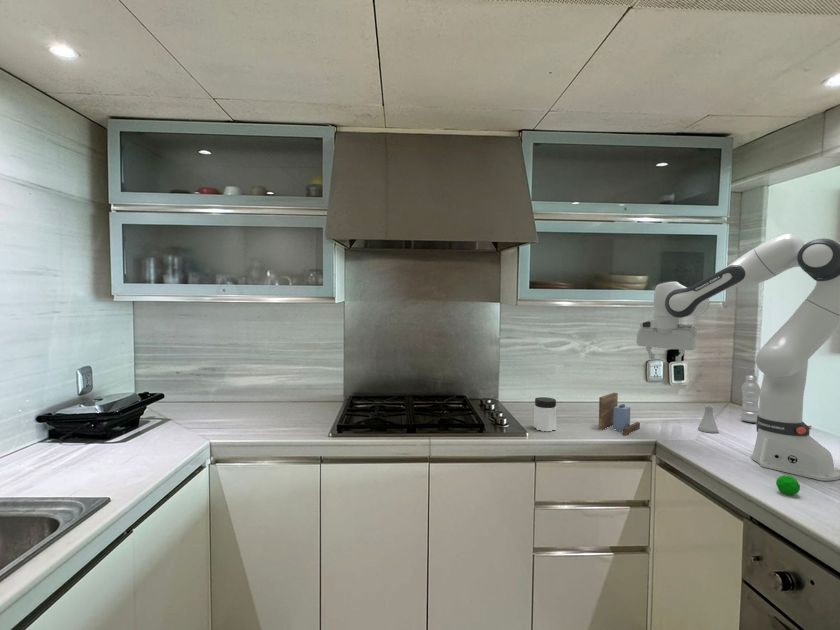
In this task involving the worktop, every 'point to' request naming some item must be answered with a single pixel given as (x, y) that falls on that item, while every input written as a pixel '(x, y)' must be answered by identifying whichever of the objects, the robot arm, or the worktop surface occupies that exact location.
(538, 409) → the jar
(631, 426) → the cleat board
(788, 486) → the polyhedron
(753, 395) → the plastic bottle
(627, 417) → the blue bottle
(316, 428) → the worktop surface
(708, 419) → the flask
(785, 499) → the worktop surface
